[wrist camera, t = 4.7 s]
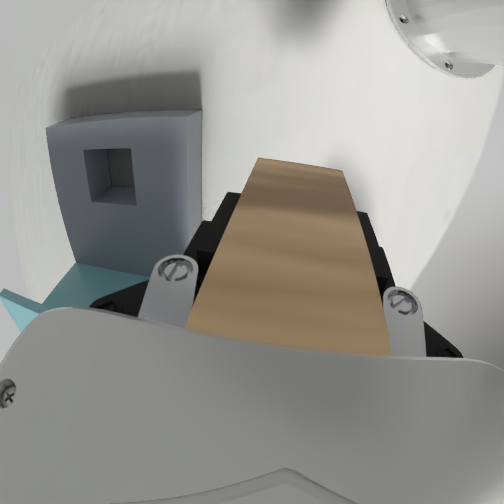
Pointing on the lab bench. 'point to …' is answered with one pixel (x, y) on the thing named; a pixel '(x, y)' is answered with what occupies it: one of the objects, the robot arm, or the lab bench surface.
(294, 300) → the peg
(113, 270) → the socket block
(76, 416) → the robot arm
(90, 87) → the lab bench surface
